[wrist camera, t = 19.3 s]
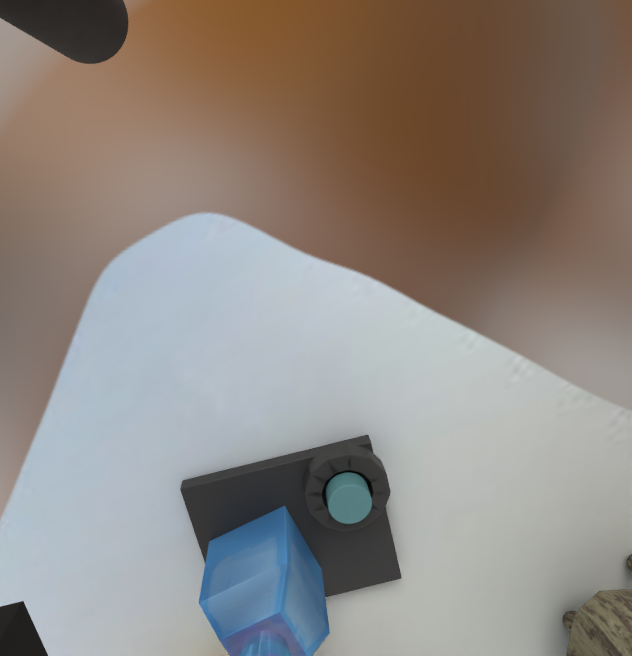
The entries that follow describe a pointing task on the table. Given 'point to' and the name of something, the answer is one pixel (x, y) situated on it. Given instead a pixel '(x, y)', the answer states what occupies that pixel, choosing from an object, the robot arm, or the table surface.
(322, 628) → the perfume bottle
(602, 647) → the tabletop clock
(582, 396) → the table surface
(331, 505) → the button
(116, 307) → the table surface
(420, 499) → the table surface
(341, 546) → the scale
